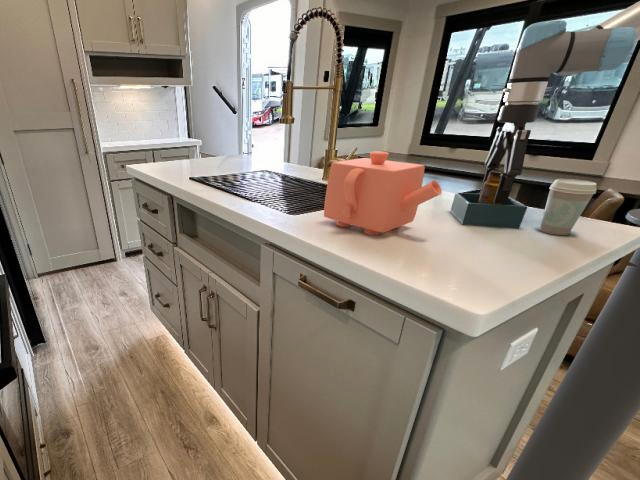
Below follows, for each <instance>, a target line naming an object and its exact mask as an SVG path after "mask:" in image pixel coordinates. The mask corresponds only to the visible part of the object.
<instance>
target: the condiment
mask: <svg viewBox="0 0 640 480" xmlns="http://www.w3.org/2000/svg"><path fill="white" fill-rule="evenodd" d="M498 170H499V169H498ZM498 170H494V171H490V173H489V176H488V178H487V179H488V180H487V181H486V182H485V183H484V185H483V188H482V191H481V195H480V198H479V201H478V203H480V204H497V205H505V204H498V203H493V202H494V198H495V195H496V192H497V189H498V185H499V182H500V179H501V176H500V175H501V174H502V173H504V170H499V171H498Z"/></svg>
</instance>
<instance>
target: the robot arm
mask: <svg viewBox="0 0 640 480" xmlns="http://www.w3.org/2000/svg"><path fill="white" fill-rule="evenodd" d="M567 24H568V23H567V21H566V20H564V19H563V20H562V19H560V20H545V21H539V22H535V23H532V24H530V25H528V26H527V27H526V28H524V30H523V32H522V35H521V38H520V42H519V44H518V47H517V49H516V54H515V57H514V61H513V65H512V67H511V72H510V76H509V80H508V83H507V87H506V88H504V89H503V93H504V96H503V97H504V98H503V103H505V104H504V105H502V106H500V111H499V114H498V117H497V122H498V123H502V124H503V123H504V125H503V126H498V127H497V128H496V133H495V136H494V138H493V142H492V144H491V146H490V149H489V152H488V154H487V156H486V159H485V161H484V166H485V168H486V170H485V173H484V176H483V180H482V184H481V187H480V190H479V194H481V191H482V188H483V185H484V183H485V182H486V181H487V180H488V179H487V178H488V176H489V173H490V171H494V170H498V171H500V169H501V163H502V161H503V159H504V167H503V168H504V169H503V171H504V173H502V174H501V175H500V176H501V179H500V182H499V185H498V189H497V192H496V195H495V198H494V202H493V203H498V204H506V203H507V200H508V197H509V196H510V194H511V191H512V188H513V185H514V182H515V179H516V178H517V177H518V176H521V175H522V173H523V169H524V168H523V167H524V164H525V163H524V162H525V157H526V152H527V146H528V141H529V138H530V135H531V132H532V130H531V129H525V128H526V124H528V123H533V122H535V121H536V120H537V116H538V113H539V111H540V108H541V107H540V105H539V102H542V101H543V99H544V96H545V93H546V90H547V87H548V84H549V80H550V77H551V75H552V74H553V75H556V76H560V77H570V76H572V75H576V74H582V73H589V72H599V73H600V72H603V71H605V72H606V71H613V70H616V69H619V68H620V67H621V66H622V65H624V63H625V62H626V61H627V59H628V58H629V56H630V54H631V52H632V51H633V48H634V45H635V43H636V42H637V41H640V0H639V1H637V2H635V3H634V4H632V5H630V6H628V7H626V8H624V9H623V10H621V11H620V12H618V13H616V14H614V15H613V16H611V17H609V18H607V19H605V20H604V21H602V22H600V23H598V24H597V25H596V26H595V27H591V28H590V29H588V30H579V31H577V30H576V31H570V30H569V31H568V30H567Z"/></svg>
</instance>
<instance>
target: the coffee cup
mask: <svg viewBox="0 0 640 480" xmlns="http://www.w3.org/2000/svg"><path fill="white" fill-rule="evenodd" d="M548 189H549V192H548V195H547V198H546V199H547V200H546V202H545V203H546V204H545V208H544V211H543V214H542V218H541V222H540V225H539V231H540V232H542V233H545V234H550V235H555V236H568V235H569V234H570V233H571V231H572V230H573V228H574V226H575V225H576V223H577V221H578V220H579V218H580V217H581V215H582V213H583V212H584V211H585V209H586V207H587V206H588V204H589V202H590V201H591V199H592V197H593V196H594V195H595V194H597V183H596V182H594V181H589V180H583V179H582V180H581V179H574V178H557V179H555V180H554V181H553V183H551V184H550V187H549V188H548Z"/></svg>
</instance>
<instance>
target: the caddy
mask: <svg viewBox="0 0 640 480" xmlns="http://www.w3.org/2000/svg"><path fill="white" fill-rule="evenodd" d="M480 195H481V194H480V193H472V192H455V193H454V197H453V200H452V204H451V207H450V211H449V212H450V214H452V216H454V218H455V219H456V220H457V221H458V222H459V223H460V224H461V225H462V226H476V227H490V228H504V229H519V230H520V228H521V225H522V223H523V220H524V217H525V214H526V212H527V210H528V205H525V204H524V203H522V202H520V201H518V200H517V199H516V198H513V197H512V196H510V195H509V197H508V200H507V203H506V204H505V205H497V204H480V203H478V201H479V198H480Z"/></svg>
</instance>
